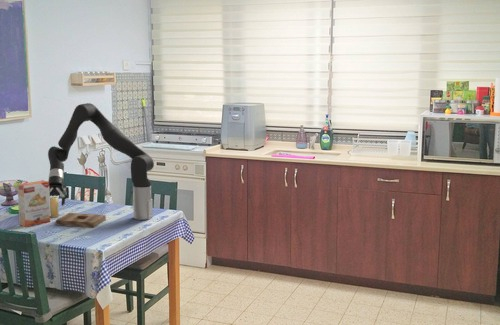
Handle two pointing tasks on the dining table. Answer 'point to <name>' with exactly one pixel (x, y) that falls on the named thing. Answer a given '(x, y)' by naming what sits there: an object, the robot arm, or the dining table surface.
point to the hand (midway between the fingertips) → (53, 205)
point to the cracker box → (34, 203)
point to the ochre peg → (54, 207)
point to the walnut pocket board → (81, 220)
